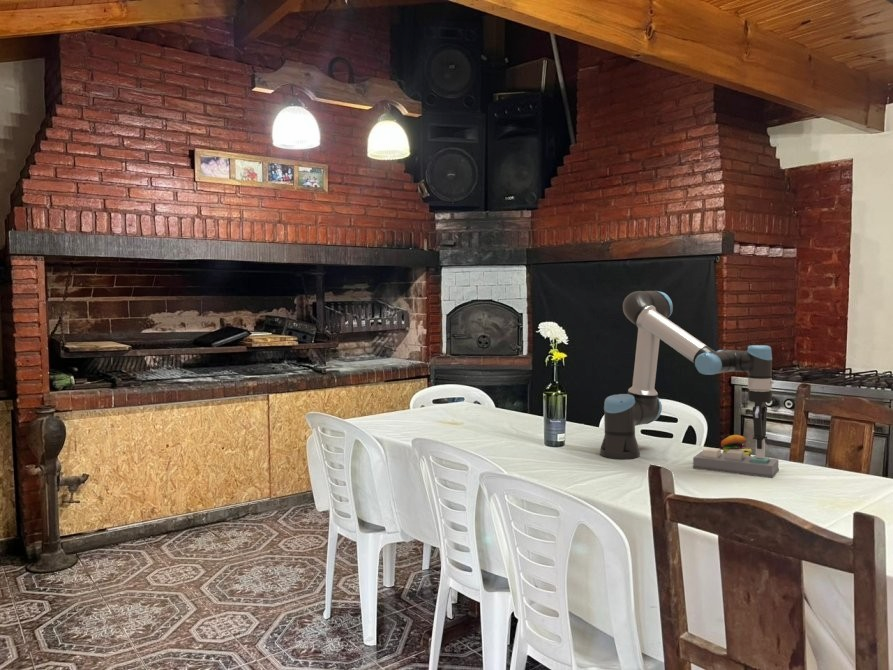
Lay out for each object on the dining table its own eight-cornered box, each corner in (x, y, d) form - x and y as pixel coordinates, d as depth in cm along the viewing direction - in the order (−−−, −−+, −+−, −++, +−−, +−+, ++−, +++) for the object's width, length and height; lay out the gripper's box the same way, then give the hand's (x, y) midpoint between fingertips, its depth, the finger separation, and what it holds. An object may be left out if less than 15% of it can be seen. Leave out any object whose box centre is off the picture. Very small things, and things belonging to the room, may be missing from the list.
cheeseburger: (735, 462, 244) (730, 435, 246) (717, 463, 254) (712, 437, 256) (758, 459, 247) (753, 432, 249) (739, 460, 257) (734, 434, 259)
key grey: (726, 462, 234) (726, 452, 234) (729, 459, 238) (729, 449, 238) (741, 463, 231) (741, 454, 231) (744, 461, 235) (744, 451, 235)
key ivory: (702, 459, 238) (702, 449, 238) (706, 456, 242) (706, 447, 242) (717, 461, 235) (717, 451, 235) (720, 458, 240) (720, 448, 239)
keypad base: (692, 468, 237) (692, 457, 237) (701, 461, 247) (701, 451, 247) (772, 478, 222) (772, 466, 222) (778, 470, 232) (778, 459, 232)
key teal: (750, 468, 229) (750, 458, 229) (753, 465, 233) (753, 455, 233) (766, 470, 226) (766, 460, 226) (769, 467, 230) (769, 457, 230)
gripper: (768, 392, 221) (768, 462, 222) (775, 388, 232) (775, 455, 233) (744, 391, 225) (744, 460, 226) (752, 387, 236) (752, 452, 237)
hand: (760, 457), depth 229 cm, fingers closed
